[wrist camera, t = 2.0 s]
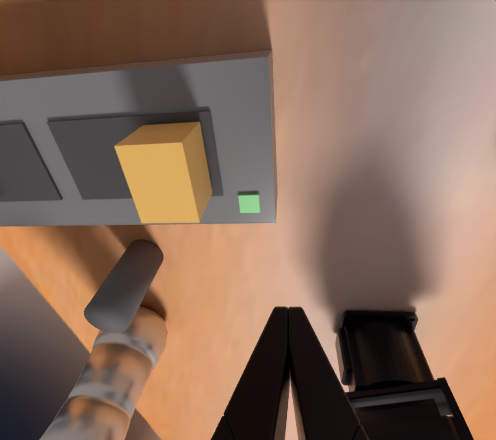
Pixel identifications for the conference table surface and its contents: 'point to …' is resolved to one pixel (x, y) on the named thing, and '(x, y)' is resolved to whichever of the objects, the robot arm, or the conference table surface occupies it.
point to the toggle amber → (167, 172)
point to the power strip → (125, 123)
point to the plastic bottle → (111, 381)
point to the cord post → (124, 288)
